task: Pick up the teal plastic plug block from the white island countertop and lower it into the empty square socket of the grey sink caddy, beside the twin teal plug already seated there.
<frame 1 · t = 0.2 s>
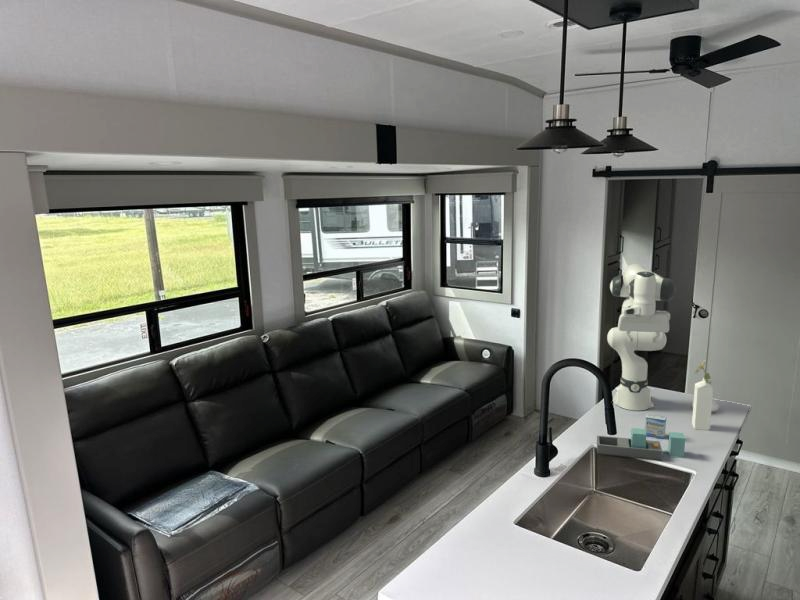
hand: (642, 341, 240), 39 cm above the worktop, tool pointing down, fingers open, 8 cm apart
plug: (675, 453, 223), on the worktop
flower in vase: (703, 410, 262), on the worktop
medicine box: (654, 436, 239), on the worktop
grey sink caddy: (622, 451, 227), on the worktop
milk: (700, 427, 245), on the worktop
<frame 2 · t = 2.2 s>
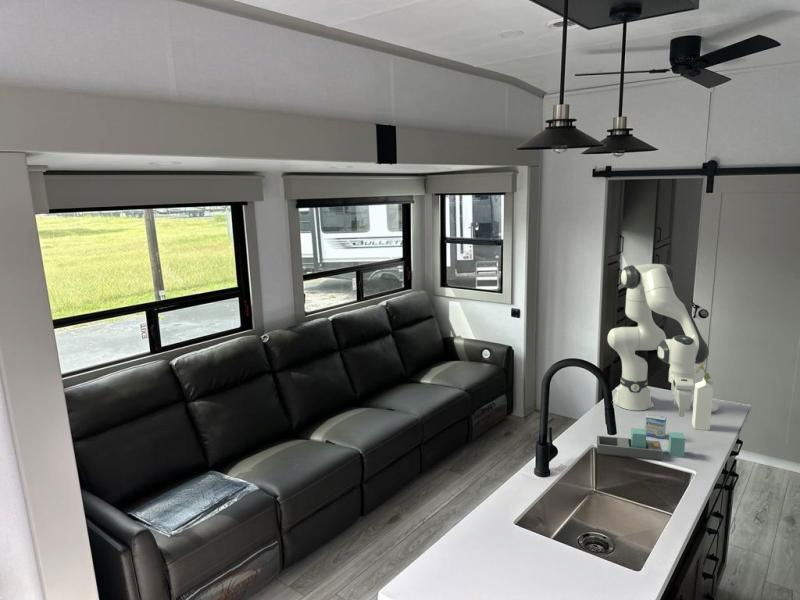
hand: (679, 411, 219), 18 cm above the worktop, tool pointing down, fingers open, 8 cm apart
nothing on the worktop moved.
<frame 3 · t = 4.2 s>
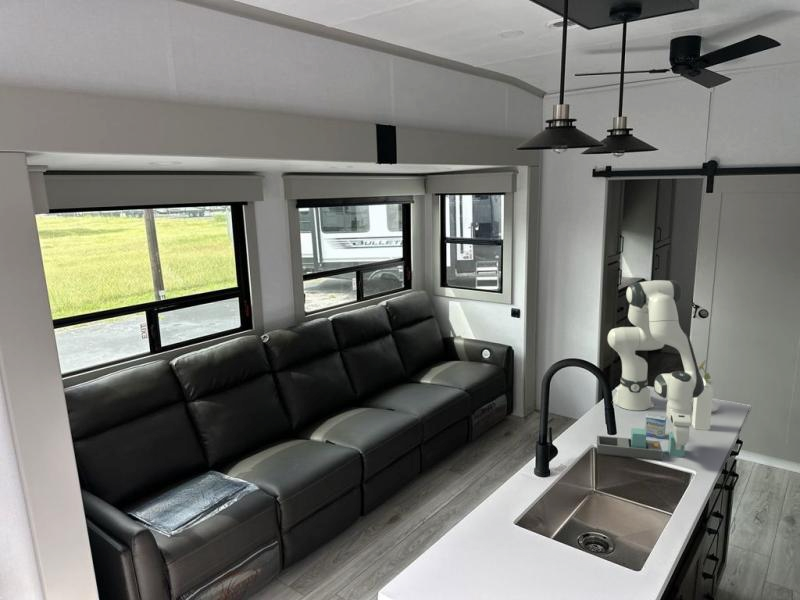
hand: (676, 445, 223), 4 cm above the worktop, tool pointing down, fingers closed on plug, 5 cm apart
plug: (675, 453, 223), on the worktop, touching gripper
everything else where it was.
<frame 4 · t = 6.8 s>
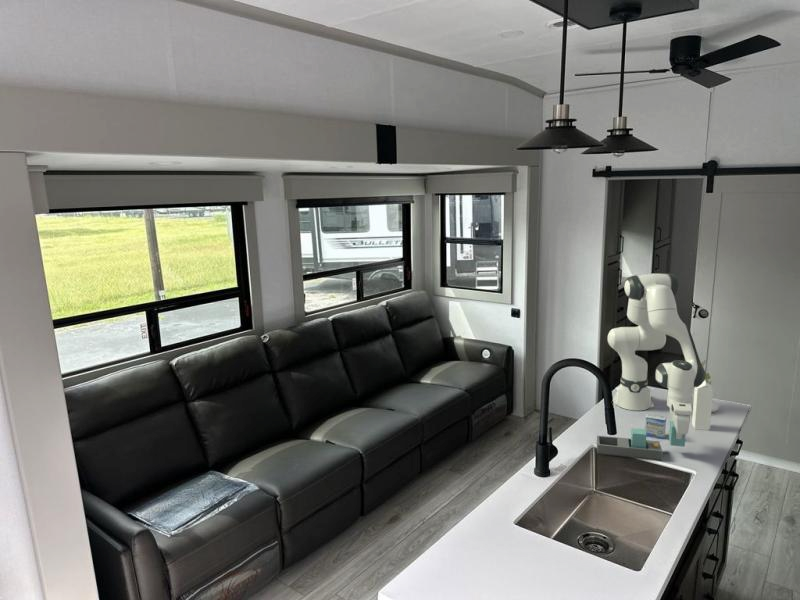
hand: (677, 434, 222), 8 cm above the worktop, tool pointing down, fingers closed on plug, 5 cm apart
plug: (676, 443, 222), point 4 cm above the worktop, touching gripper
everything else where it was.
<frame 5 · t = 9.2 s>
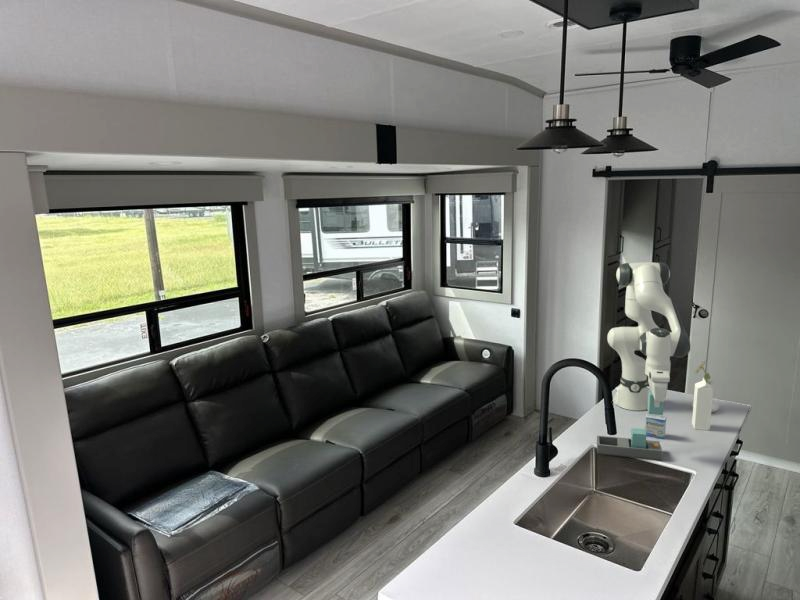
hand: (655, 403, 220), 21 cm above the worktop, tool pointing down, fingers closed on plug, 5 cm apart
plug: (655, 412, 221), point 17 cm above the worktop, touching gripper
everything else where it was.
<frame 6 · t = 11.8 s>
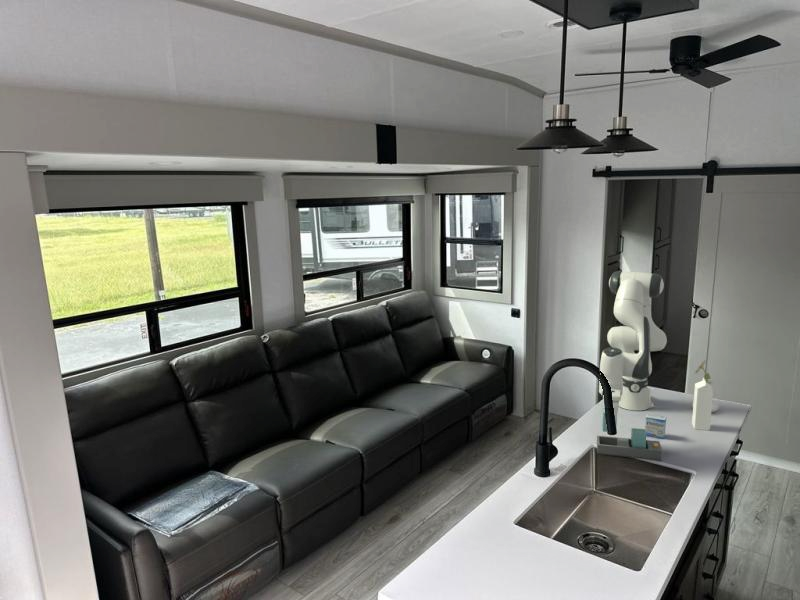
hand: (609, 421, 225), 13 cm above the worktop, tool pointing down, fingers closed on plug, 5 cm apart
plug: (609, 429, 226), point 9 cm above the worktop, touching gripper
everything else where it was.
when the fingers open (6 cm above the worktop, at t = 14.2 s): plug drops 1 cm, resting on grey sink caddy.
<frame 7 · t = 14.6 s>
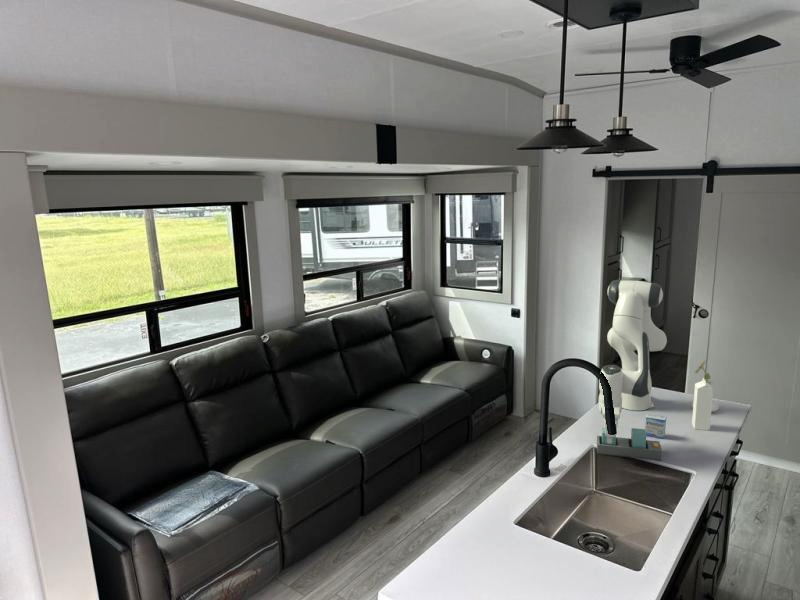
hand: (608, 437, 227), 6 cm above the worktop, tool pointing down, fingers open, 8 cm apart
plug: (608, 448, 228), resting on grey sink caddy
everything else where it was.
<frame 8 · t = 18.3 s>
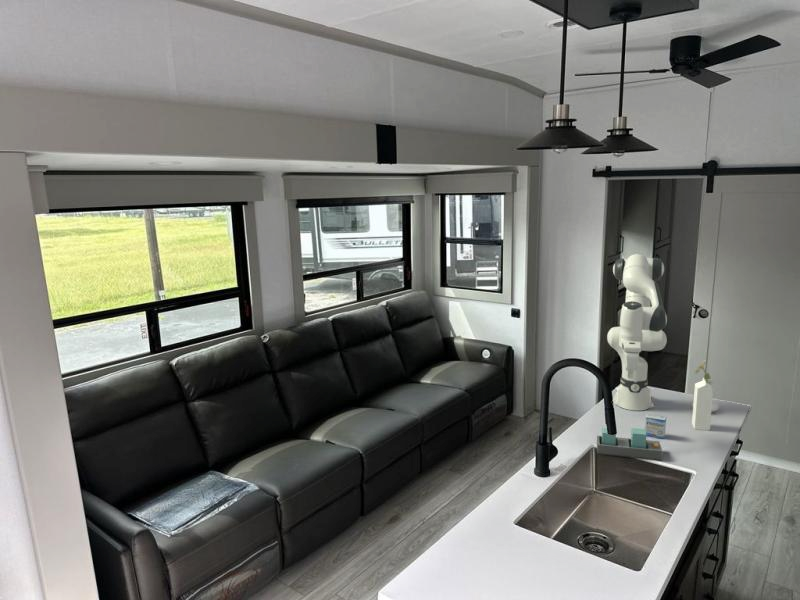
hand: (629, 373, 231), 29 cm above the worktop, tool pointing down, fingers open, 8 cm apart
nothing on the worktop moved.
at the end: plug 0.1 cm from the target spot on the grey sink caddy, point 0.5 cm above the grey sink caddy's base; plug tilted 0°; the gripper is holding nothing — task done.
